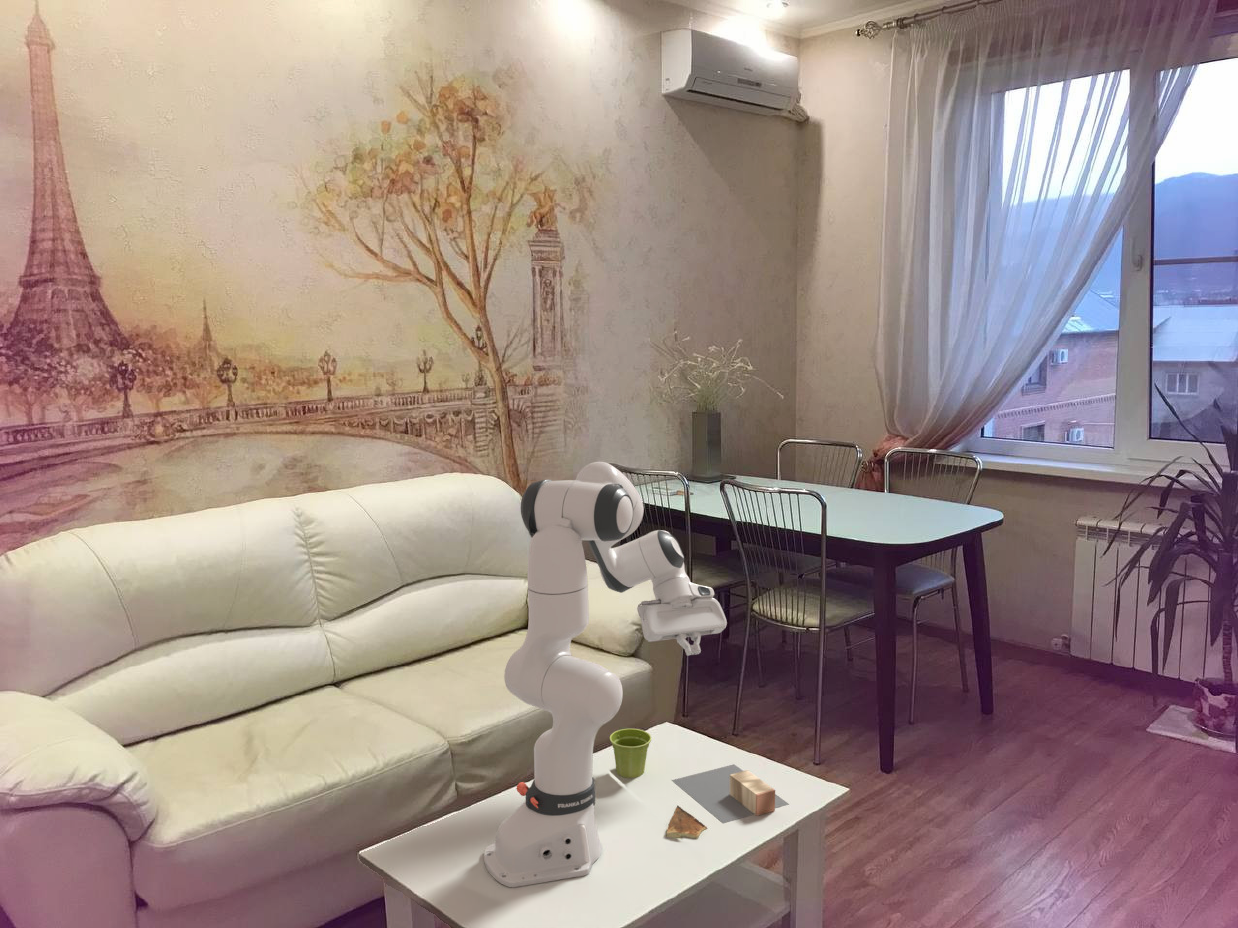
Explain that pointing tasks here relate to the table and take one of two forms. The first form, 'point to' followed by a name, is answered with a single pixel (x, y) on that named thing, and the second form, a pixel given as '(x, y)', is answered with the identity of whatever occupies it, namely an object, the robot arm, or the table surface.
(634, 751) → the plant pot
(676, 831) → the shard
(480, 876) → the table surface
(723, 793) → the rubber mat
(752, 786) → the birch block
